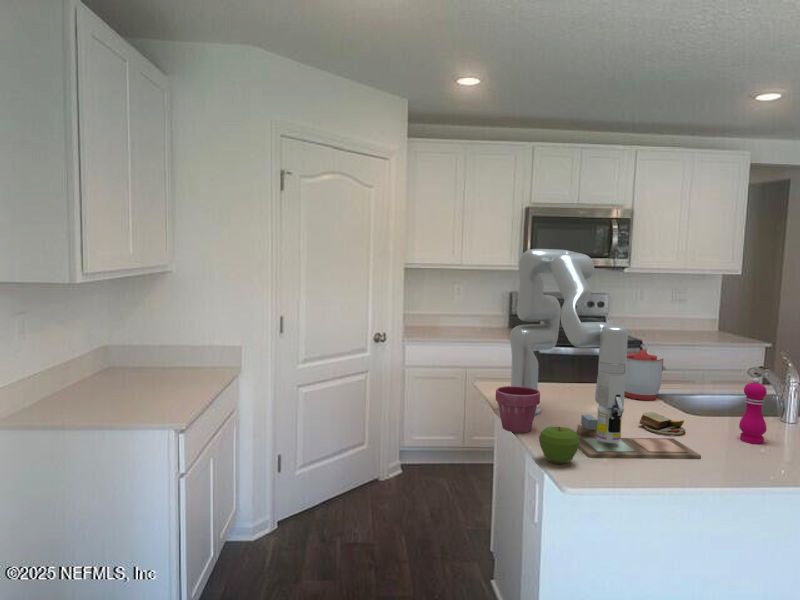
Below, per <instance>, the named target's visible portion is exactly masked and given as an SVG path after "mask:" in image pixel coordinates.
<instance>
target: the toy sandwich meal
mask: <svg viewBox="0 0 800 600" xmlns="http://www.w3.org/2000/svg"><path fill="white" fill-rule="evenodd" d="M684 422H685V420H680V421H679V420H672V419H671V418H669V417H666V416H664V415H661V414H658V413H657V412H653V411H652V412H651V411H650V412H644V413H642V416H640V419H639V424H640V425H642V426H643V427H644V428H645V429H646V431H648V430H649V431H648V432H650V431H651V432H650V433H653V432H654V434H657V433H658V434H657V435H661V434H663V436H670V435H677V436H681V434H682V435H683V434H684V433H686V429H685V428H684V427H683V425H684Z"/></svg>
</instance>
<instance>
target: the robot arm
mask: <svg viewBox="0 0 800 600" xmlns="http://www.w3.org/2000/svg"><path fill="white" fill-rule="evenodd" d="M594 264H595V263H594V261H593V260H592V258H591V257H590V256H589V255H587V254H584V253H580V252H576V251H572V250H567V249H551V248H533V249H532V248H531V249H529V250H526V251H524V252H523V253H522V254H521V256H520V258H519V261H518V277H519V278H518V279H519V285H518V286H519V287H518V296H517V305H516V307H517V308H516V313H517V317H518V319H519V320H520V321H522V322H540V323H538V324H532V323H531V324H520V325H516V326H515V327H514V328H512V329H511V330H510V334H509V342H510V348H511V349H510V350H511V374H510V386H519V387H528V388H533V389H536V390H538V389H539V388H538V385H539V384H538V383H539V360H538V358H537V356H536V355H535V353H534V352H537V351H549V350H550V351H551V350H553V349H554V348H555V347H556V345H557V344H558V343H557V342H558V339H559V331H560V323H561V326H562V329H563V331H564V333H565V336H566V337H567V339H568V342H570V344H571V345H572V346H574V347H576V348H579V349H580V348H582V349H583V348H599V353H598V370H597V373H598V374H597V378H596V386H595V387H596V388H595V397H594V400H595V402H596V403H597V404H598V406H599V405H601V406H603V407H604V408H606V409H609V410H610V418H609V427H608V431H609V432H610V433H619V432H620V423H621V424H622V421H621V416H622V417H623V413H624V412H625V408H624V406H625V393H624V392H625V389H624V375H626V359H627V354H628V341H629V340H628V339H629V331H628V329H627V328H626V327H625V326H622V325H613V324H611V323H608V322H604V321H585V322H584V321H583V322H581V320H580V317H579V315H578V312H577V307H576V306H578V305H580V304H582V303H584V302H585V301H586V300H587V299H588V298H589V297H590V295H591V294H592V293H591V292H592V291H591V289H590V286H589V285H588V282H587V280H588V279H591V278H592V277H593V275H594V273H595V265H594ZM541 274H548V275H550V274H552V276H553V277H554V280H555V282H556V284H557V286H558V289H559V291H560V293H561V296H562V298H563V301H564V302H563V303H562V306H561V304H560V302H559V299H558V298H556V296H553V295H551V294H547V295H546V294H544V288H545V284H544V280H543V278H542V276H541ZM538 391H539V390H538ZM496 403H497V405H498V402H497V401H496ZM613 406H617V408H612V407H613ZM613 410H615V413H614V414H613ZM541 413H542V409H541V408H540V406H538V405H537V407H536V411H535V415H534V416H536V415H539V414H541Z"/></svg>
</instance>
